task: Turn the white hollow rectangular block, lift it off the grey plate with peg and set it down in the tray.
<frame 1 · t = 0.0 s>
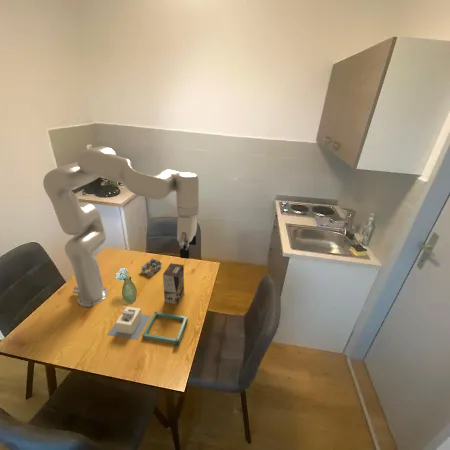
hand: (188, 250, 95), 31 cm above the table, fingers open, 9 cm apart
grey plate with peg: (130, 326, 100), on the table
egg carton: (151, 270, 134), on the table
white hollow rectangular block: (130, 324, 100), point 1 cm above the table, touching grey plate with peg
coffee box: (174, 298, 116), on the table
tray: (166, 330, 99), on the table
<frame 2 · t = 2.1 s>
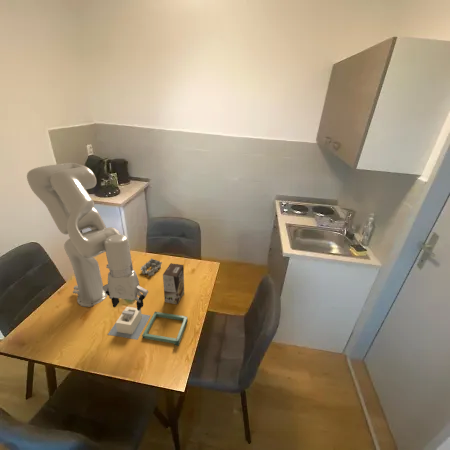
hand: (128, 306, 95), 11 cm above the table, fingers open, 9 cm apart
nothing on the table moved.
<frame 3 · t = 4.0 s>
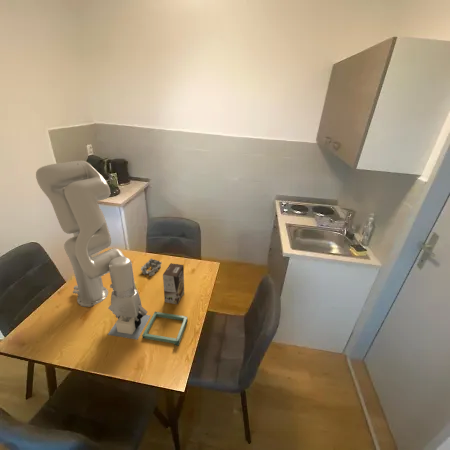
hand: (130, 323, 99), 1 cm above the table, fingers closed on white hollow rectangular block, 6 cm apart
white hollow rectangular block: (130, 324, 100), point 1 cm above the table, touching gripper, grey plate with peg
everything else where it was.
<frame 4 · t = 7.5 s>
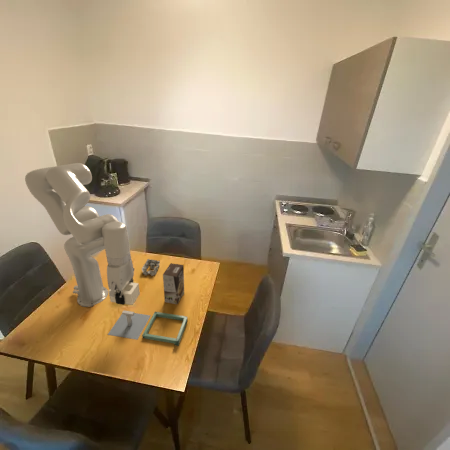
hand: (125, 296, 93), 15 cm above the table, fingers closed on white hollow rectangular block, 6 cm apart
white hollow rectangular block: (125, 297, 94), point 15 cm above the table, touching gripper
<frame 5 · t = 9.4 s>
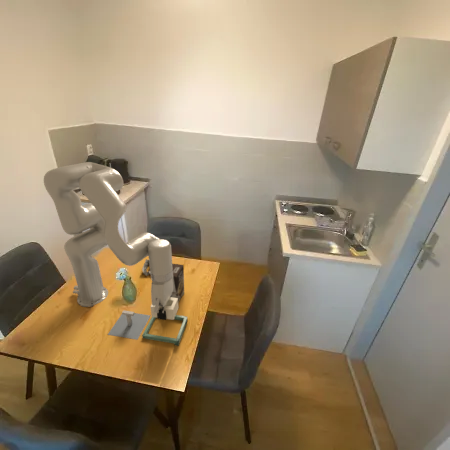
hand: (165, 311, 95), 10 cm above the table, fingers closed on white hollow rectangular block, 6 cm apart
white hollow rectangular block: (165, 312, 95), point 10 cm above the table, touching gripper
when the fingers open (3 cm above the table, at t = 11.3 s): white hollow rectangular block drops 2 cm, resting on tray.
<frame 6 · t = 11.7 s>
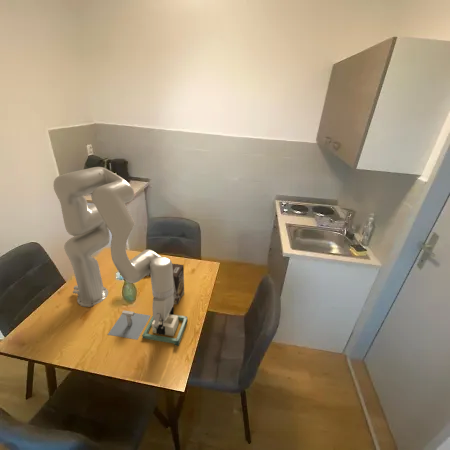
hand: (165, 323, 98), 4 cm above the table, fingers open, 9 cm apart
white hollow rectangular block: (165, 328, 99), point 1 cm above the table, touching tray
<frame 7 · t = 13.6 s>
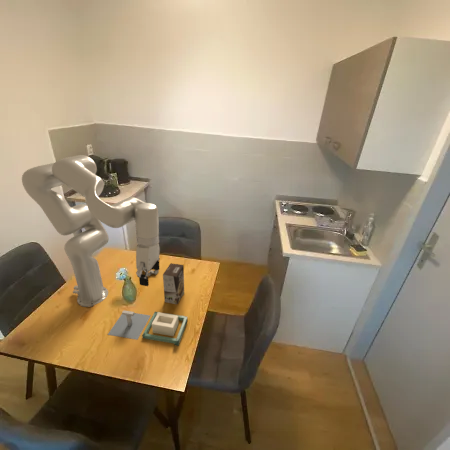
hand: (150, 276, 95), 21 cm above the table, fingers open, 9 cm apart
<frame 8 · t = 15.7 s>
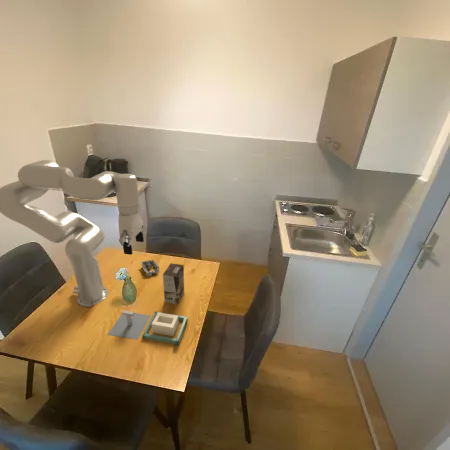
hand: (134, 247, 100), 28 cm above the table, fingers open, 9 cm apart
at the end: white hollow rectangular block inside the target area on the tray (0.1 cm from its centre), point 0.6 cm above the tray's base; white hollow rectangular block tilted 0°; the gripper is holding nothing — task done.
